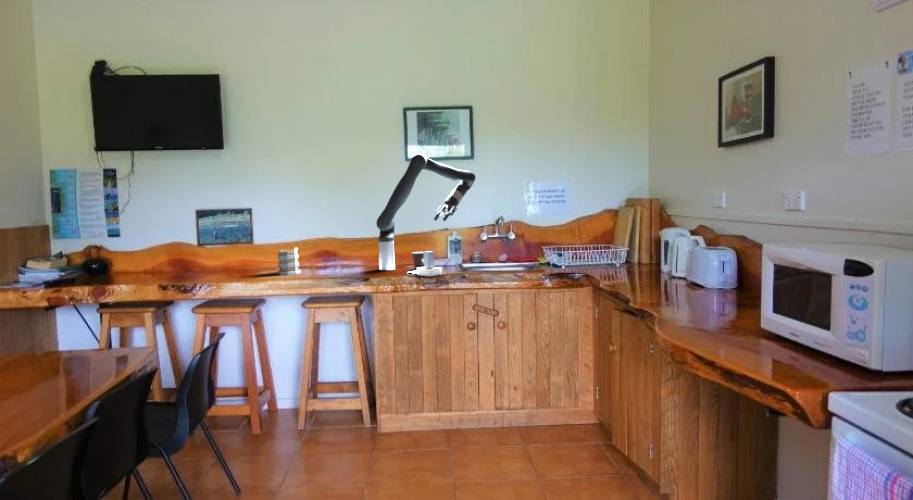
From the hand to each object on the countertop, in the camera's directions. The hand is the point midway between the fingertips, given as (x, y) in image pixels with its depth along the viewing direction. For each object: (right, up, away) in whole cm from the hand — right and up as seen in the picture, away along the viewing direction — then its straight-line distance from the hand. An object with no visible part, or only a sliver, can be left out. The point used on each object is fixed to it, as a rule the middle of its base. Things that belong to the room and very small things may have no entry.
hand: (438, 219), depth 335 cm
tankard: (-90, -31, +20) cm, 98 cm away
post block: (-8, -31, -6) cm, 33 cm away
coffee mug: (-11, -29, +19) cm, 36 cm away
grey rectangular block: (-5, -30, -10) cm, 32 cm away
